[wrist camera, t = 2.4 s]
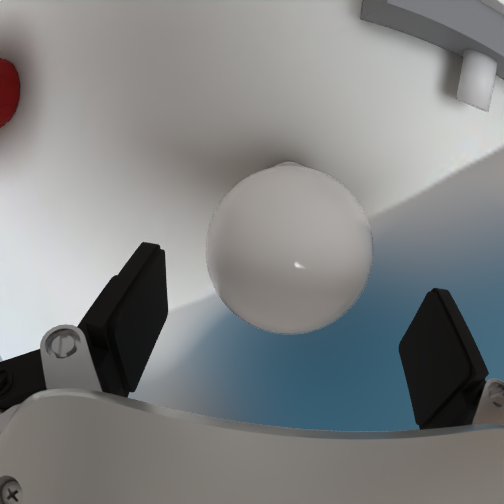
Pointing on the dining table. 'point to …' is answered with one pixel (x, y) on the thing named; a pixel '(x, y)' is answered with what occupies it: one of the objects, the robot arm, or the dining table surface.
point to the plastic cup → (8, 91)
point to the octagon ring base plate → (453, 36)
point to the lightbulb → (289, 249)
